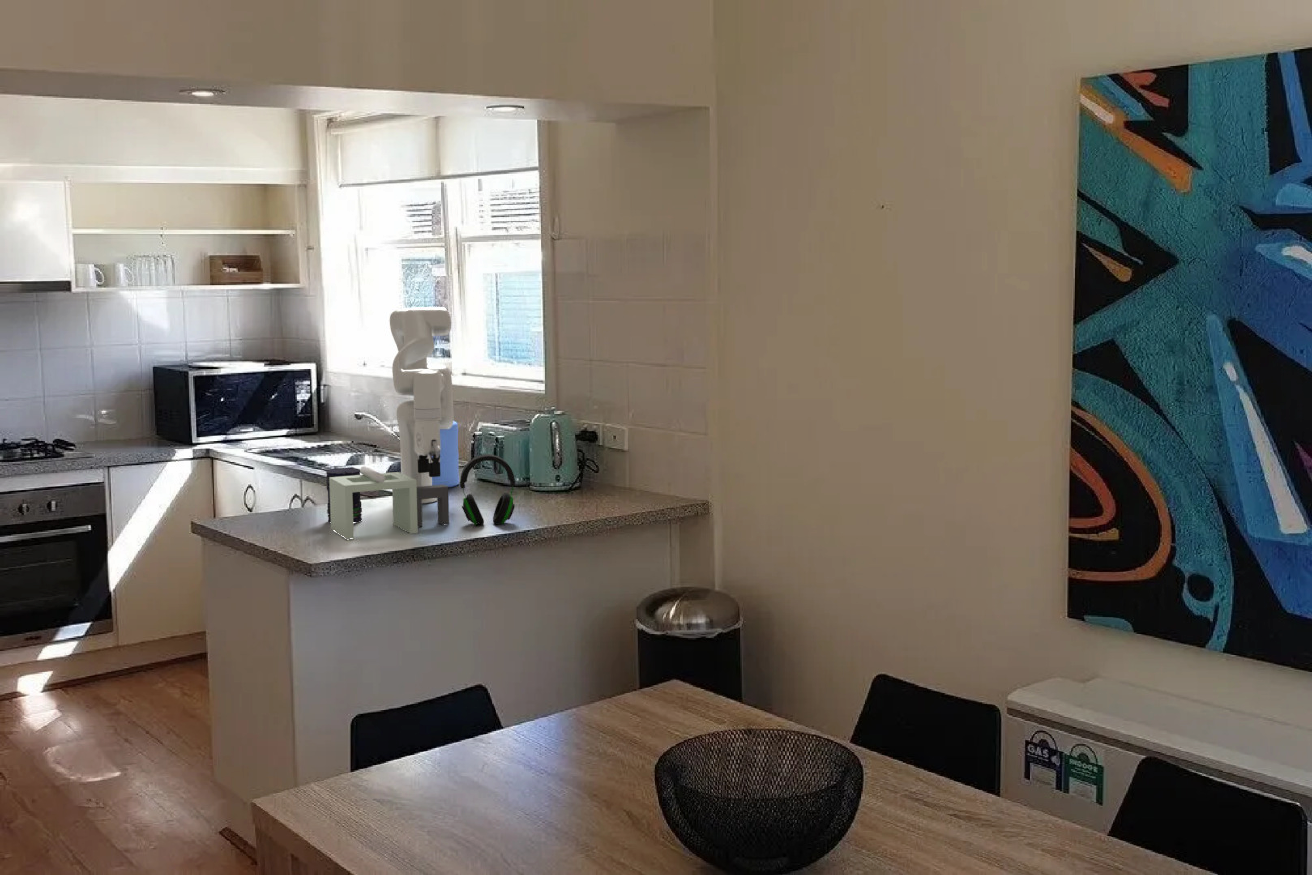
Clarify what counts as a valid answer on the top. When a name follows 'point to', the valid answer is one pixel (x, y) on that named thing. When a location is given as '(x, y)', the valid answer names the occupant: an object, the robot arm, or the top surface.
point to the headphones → (505, 501)
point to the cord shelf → (372, 481)
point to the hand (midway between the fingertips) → (429, 474)
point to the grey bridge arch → (442, 501)
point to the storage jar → (356, 495)
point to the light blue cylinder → (448, 458)
